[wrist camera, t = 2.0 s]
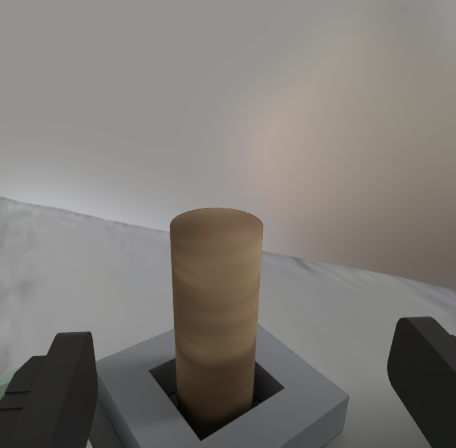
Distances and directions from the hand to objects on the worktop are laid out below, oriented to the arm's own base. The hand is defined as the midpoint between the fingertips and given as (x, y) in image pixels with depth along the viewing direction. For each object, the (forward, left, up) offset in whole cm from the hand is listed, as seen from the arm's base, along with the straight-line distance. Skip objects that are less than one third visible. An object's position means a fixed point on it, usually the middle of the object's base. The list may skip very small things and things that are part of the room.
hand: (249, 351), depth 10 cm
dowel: (+10, -6, -15) cm, 19 cm away
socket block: (+10, -6, -15) cm, 19 cm away
